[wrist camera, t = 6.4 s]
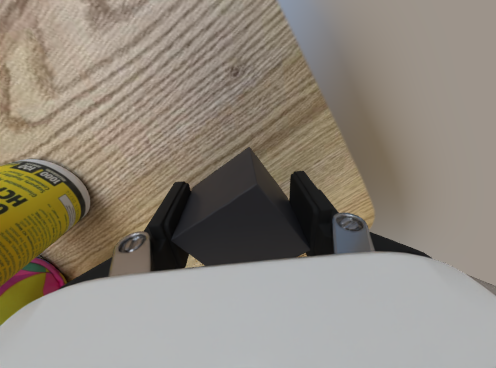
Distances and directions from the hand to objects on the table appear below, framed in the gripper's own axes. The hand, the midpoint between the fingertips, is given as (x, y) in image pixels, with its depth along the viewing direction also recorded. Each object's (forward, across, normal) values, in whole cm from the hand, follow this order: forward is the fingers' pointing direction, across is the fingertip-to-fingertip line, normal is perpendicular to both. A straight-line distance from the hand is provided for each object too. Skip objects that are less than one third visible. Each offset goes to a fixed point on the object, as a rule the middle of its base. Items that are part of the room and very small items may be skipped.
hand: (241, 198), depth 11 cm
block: (+1, 0, 0) cm, 1 cm away
